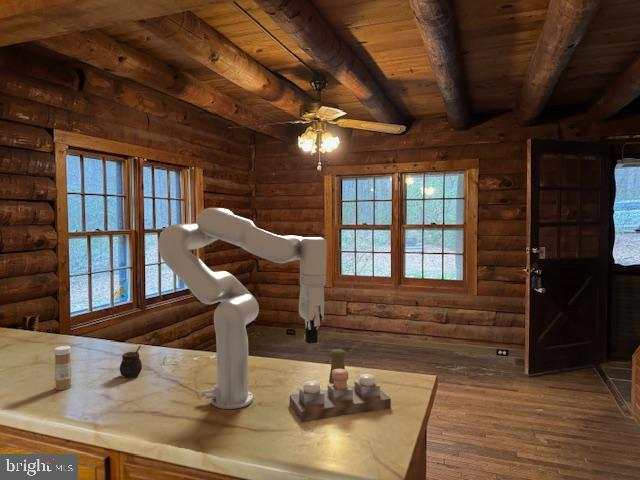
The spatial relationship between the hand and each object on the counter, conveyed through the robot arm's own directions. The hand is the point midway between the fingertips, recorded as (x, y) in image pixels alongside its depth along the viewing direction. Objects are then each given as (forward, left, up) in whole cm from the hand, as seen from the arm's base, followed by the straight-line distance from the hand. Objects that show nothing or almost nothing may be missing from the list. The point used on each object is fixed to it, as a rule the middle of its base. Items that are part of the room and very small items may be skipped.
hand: (311, 342), depth 125 cm
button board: (+9, 0, -20) cm, 22 cm away
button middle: (+9, 0, -15) cm, 17 cm away
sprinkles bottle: (-72, +41, -21) cm, 85 cm away
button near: (0, 0, -17) cm, 17 cm away
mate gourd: (-52, +46, -21) cm, 72 cm away
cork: (+16, +19, -21) cm, 32 cm away
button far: (+18, 0, -17) cm, 25 cm away
